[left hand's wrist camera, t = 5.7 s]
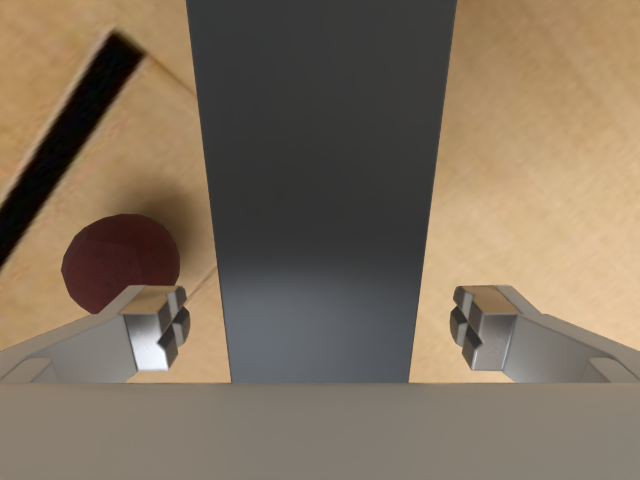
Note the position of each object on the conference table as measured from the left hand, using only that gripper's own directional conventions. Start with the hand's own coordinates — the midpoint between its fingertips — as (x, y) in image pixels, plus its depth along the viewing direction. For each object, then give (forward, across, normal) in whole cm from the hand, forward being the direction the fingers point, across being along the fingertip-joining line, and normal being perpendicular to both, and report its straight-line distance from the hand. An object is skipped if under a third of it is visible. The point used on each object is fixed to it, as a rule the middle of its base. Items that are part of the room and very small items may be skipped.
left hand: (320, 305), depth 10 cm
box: (+9, 0, -10) cm, 14 cm away
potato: (+17, +14, +5) cm, 22 cm away
